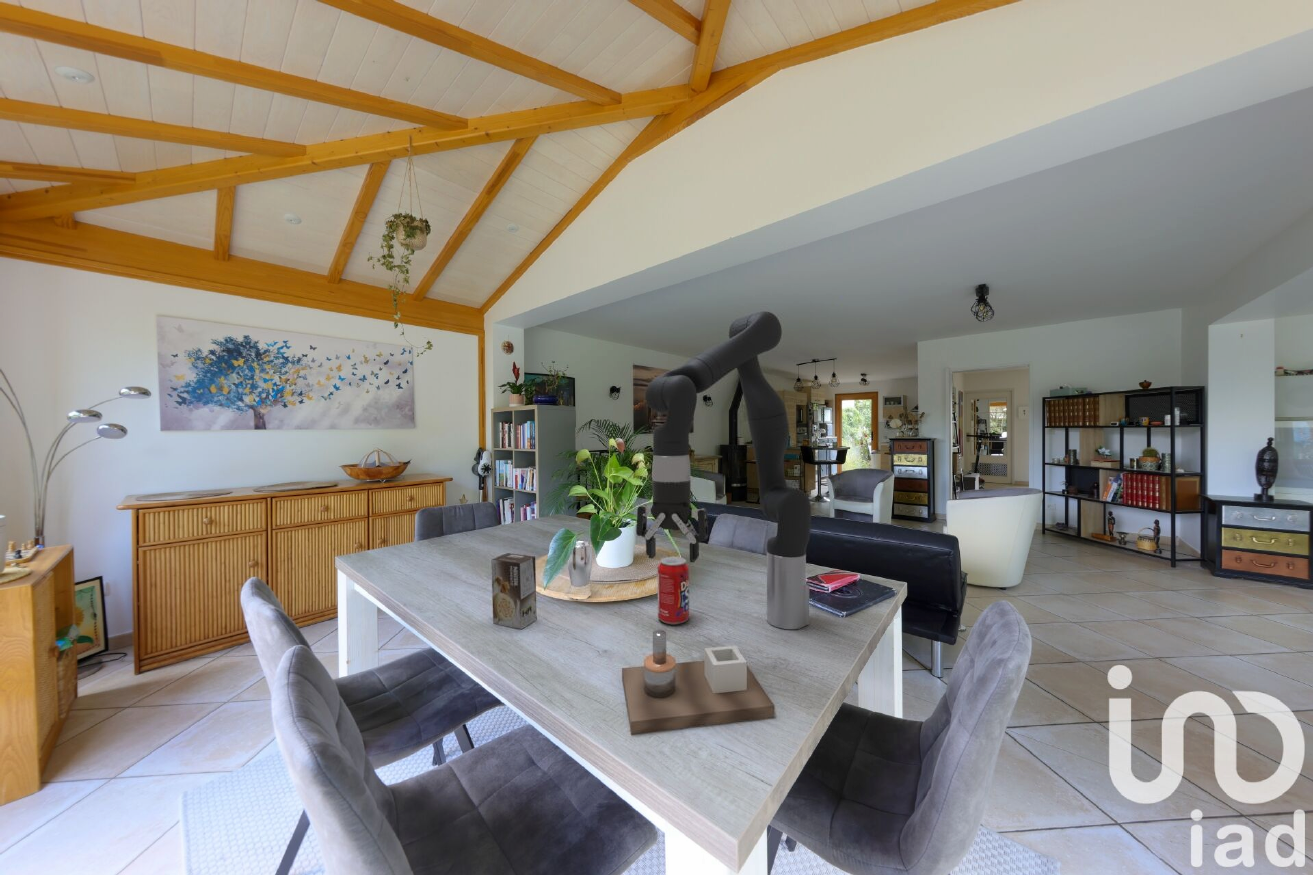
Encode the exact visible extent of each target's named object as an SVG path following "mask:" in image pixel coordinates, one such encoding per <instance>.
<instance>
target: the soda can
mask: <svg viewBox="0 0 1313 875" xmlns="http://www.w3.org/2000/svg"><path fill="white" fill-rule="evenodd" d="M659 561H660V562H659V563H658V566H657V618H658V620H660V621H661V622H663V623H665V624H667V625H672V626H673V625H674V626H675V625H681V624H683V623H685V622H687V621H688V620H689V619H690V566H689V564H688V563H687V559H685V558H683V557H679V556H668V557H667V556H666V557H663V558H661V559H660V560H659Z"/></svg>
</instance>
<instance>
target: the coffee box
mask: <svg viewBox="0 0 1313 875" xmlns="http://www.w3.org/2000/svg"><path fill="white" fill-rule="evenodd" d="M490 561H491V563H490V564H491V590H492V591H491V594H492V595H491V598H492V599H491V600H492V624H494V625H499V626H505V627H509V628H514V629H520V630H523V629H525V628H526V627H527V626H529V625H531V624H533V623H534V622H535V621H536V620H538V618H537V616H538V615H537V612H538V611H537V576H536V575H537V573H536V556H535V555H527V554H519V553H518V554H517V553H511V552H510V553H509V552H508V553H504V554H501V555H499V556H496V557H495V558H493V559H491V560H490Z"/></svg>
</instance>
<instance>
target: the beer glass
mask: <svg viewBox="0 0 1313 875" xmlns="http://www.w3.org/2000/svg"><path fill="white" fill-rule="evenodd" d="M592 548H593V547H592V542H590V541H587V540H576V546H575V547H574V549H573V552H572V555H571V556H570V558H569V560H568V561H567V569H568V575H569V580H570V581H569V582H570V586H571V585H572V586H574V587H582V586H586V585H588V584H590V583H589V582H591V581H590V580H591V574H592V567H593V566H592V565H593V550H592Z"/></svg>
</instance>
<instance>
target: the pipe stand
mask: <svg viewBox="0 0 1313 875" xmlns="http://www.w3.org/2000/svg"><path fill="white" fill-rule="evenodd" d="M621 679H622V680H621V681H622V687H623V692H624V698H625V700H624V701H625V705H626V706H625V707H626V711H627V712H626V713H627V716H628V717H627V718H628V722H629V730H630V734H631V735H633V734H634V735H635V734H642V733H643V734H644V733H652V732H659V731H669V730H677V729H686V728H693V727H701V726H712V725H719V724H728V723H729V724H730V723H736V722H737V723H738V722H747V721H755V720H762V719H764V720H765V719H770V718H772V719H773V718H776V717H775V715H776V714H775V708H776V707H775V704H774V702H773V701H772V699H771V697H769V695H768V693H767V692H766V691H765V689H764V688H763V686H762V685H761V683H760V682H759V680H758V679H757V678H756V676H755V674H753V672H752V670H751V669H750V667H749V666H748V665H747V690H742V691H732V692H723V693H713V691H712V689H711V687H710V685H709V683H708V681H707V679H706V677H705V663H704V660H697V661H695V660H694V661H686V662H684V661H683V662H676V658H675V657H674V656H672V655H671V654H668V653H667V631H665V630H662V629H657V630H656V629H655V630H654V631H653V632H652V654H649V655H647V656H645V658H643V666H642V665H640V666H630V667H622V668H621Z"/></svg>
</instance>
